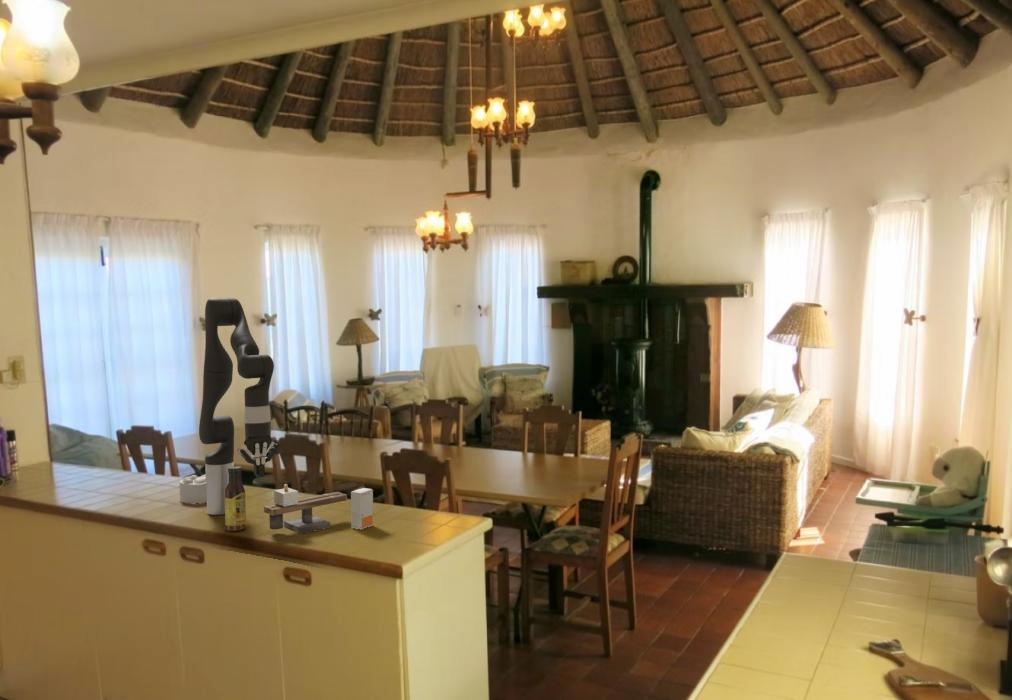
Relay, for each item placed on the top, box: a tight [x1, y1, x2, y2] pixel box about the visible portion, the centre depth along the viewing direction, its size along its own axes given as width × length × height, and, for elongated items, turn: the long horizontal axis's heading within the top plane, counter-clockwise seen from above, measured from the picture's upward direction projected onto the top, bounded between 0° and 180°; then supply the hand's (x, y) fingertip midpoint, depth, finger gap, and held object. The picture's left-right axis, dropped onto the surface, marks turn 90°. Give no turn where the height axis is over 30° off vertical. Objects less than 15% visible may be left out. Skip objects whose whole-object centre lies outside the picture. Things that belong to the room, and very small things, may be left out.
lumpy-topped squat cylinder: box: [178, 474, 207, 504], centre depth 280 cm, size 10×13×9 cm
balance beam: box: [263, 491, 348, 535], centre depth 244 cm, size 12×26×9 cm, turn 133°
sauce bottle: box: [224, 466, 247, 532], centre depth 242 cm, size 6×6×20 cm
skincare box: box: [350, 487, 374, 531], centre depth 242 cm, size 6×4×12 cm
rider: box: [273, 483, 299, 507], centre depth 238 cm, size 6×5×8 cm
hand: (259, 476), depth 232 cm, fingers closed
